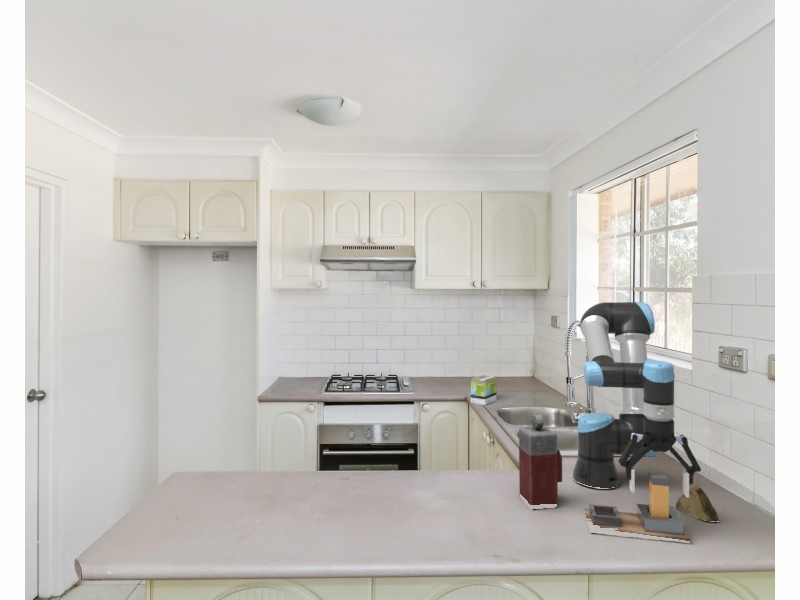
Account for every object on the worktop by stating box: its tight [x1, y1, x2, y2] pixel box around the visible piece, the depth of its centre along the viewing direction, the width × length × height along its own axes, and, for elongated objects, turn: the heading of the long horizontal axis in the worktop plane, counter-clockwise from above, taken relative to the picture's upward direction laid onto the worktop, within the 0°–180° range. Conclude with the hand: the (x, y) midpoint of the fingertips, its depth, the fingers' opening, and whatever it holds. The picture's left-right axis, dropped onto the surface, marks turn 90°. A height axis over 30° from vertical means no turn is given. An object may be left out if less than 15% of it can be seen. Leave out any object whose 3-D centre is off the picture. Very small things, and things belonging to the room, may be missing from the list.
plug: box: [648, 471, 670, 518], centre depth 132 cm, size 4×4×14 cm
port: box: [636, 503, 684, 536], centre depth 133 cm, size 9×9×4 cm
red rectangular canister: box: [518, 414, 563, 505], centre depth 151 cm, size 9×11×28 cm
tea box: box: [470, 374, 498, 406], centre depth 283 cm, size 15×10×15 cm
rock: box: [675, 484, 721, 522], centre depth 141 cm, size 11×9×10 cm
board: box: [583, 503, 691, 542], centre depth 134 cm, size 12×25×4 cm, turn 76°
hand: (658, 493), depth 133 cm, fingers open, 13 cm apart
